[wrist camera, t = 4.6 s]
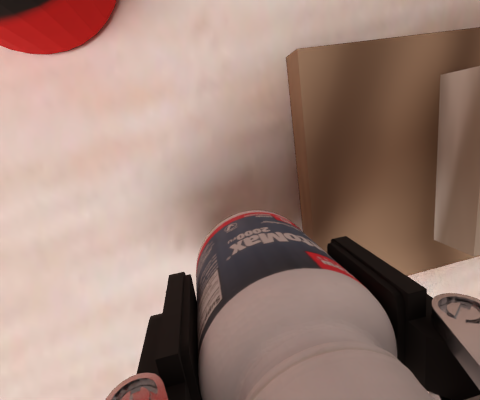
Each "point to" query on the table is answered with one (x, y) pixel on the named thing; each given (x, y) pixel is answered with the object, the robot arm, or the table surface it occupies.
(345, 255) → the robot arm
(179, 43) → the table surface
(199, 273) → the pill bottle
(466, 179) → the socket board
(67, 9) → the soda can
